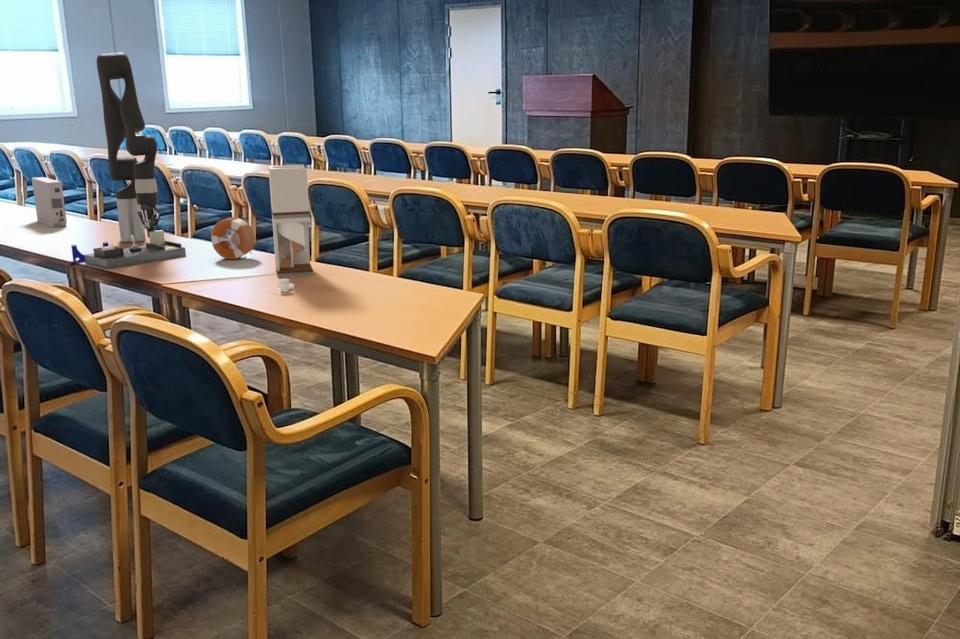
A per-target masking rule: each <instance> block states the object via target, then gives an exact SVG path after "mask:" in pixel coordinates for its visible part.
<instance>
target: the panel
mask: <svg viewBox="0 0 960 639" xmlns="http://www.w3.org/2000/svg"><path fill="white" fill-rule="evenodd" d="M114 246H115V245H114ZM102 247H103V246H102ZM102 247H97V248H96V247H95V248H93V252H92V253H87V254H83V255H84V256H85V264H87V265H88V264H89V265H91V266H95V267H98V268H99V267H100V268H103V269H106V270H108V269H109V270H110V269H115V268H119V267H127V266H132V265H139V264H145V263H151V262H156V261H160V260H161V261H163V260H168V258H169V259H173V258H178V257H185V256H187V254H186V247H185V246H182V243H180V242H179V243H178V242H174V241H169V240H165V244H161V245H156V244H151V243H150V242H145V244H144V245H139V247H135V248H132V247H131V246H130V247H126V248H124V247H120V246H115V249H111V250H102V249H101V248H102Z"/></svg>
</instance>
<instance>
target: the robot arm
mask: <svg viewBox="0 0 960 639" xmlns="http://www.w3.org/2000/svg"><path fill="white" fill-rule="evenodd" d="M96 69H97V75H98V79H99V85H100V91H101V99H102V109H103V110H102V112H103V120H104V128H105V129H104V130H105V134H106V136H105V137H106V141H107V142H106V143H107V158H108V159H107V161H108V162H107V163H108V173H109V177H110V179H111V180H112V181H116V182H117V181H119V182H120V181H122V182H123V181H124V182H125V181H130V183H129V184H128V185H126V186H125V187H123V188H120V189H118V190H116V191H115V198H116V206H117V216H118V217H117V219H118V229H119V235H120V241H121V242H123V243H132V241H131V238H130V236H131V235H133V236H134V239H135V242H136V243H138V242H143V241H146V239H147V238H149V239H150V237H149V232H152V231H156V230H155V228H156V227H158V226H159V222H160V220H161V216H162V214H161V213H158V211H157V207H156V205H157V204H159V195H158V194H159V193H158V184H157V180H156V173H155V163H156V156H157V152H158V142H157V140H156V138H155V137H154V136H152V135H150V134H147V135H136V133H137V134H138V133H139V132H141V131H144V130H145V128H146V123H145V121H144V118H143V115H142V111H141V108H140V104H139V100H138V94H137V90H136V89H137V88H136V84H135V80H134V74H133V71H132V70H133V69H132V66H131V62H130V59H129V57H128V55H127V54H126V53H125V52H110V53H100V54H98V55H97V57H96ZM111 80H123V82H124V91H123V95H122V98H120V97H119V96H118V95H117V93H116V92H115V90H114V89H113V87H112V85H111ZM124 141H125V148H126V151H127V152H128V154H130V156H118V154H119V150H120V147H121V146H122V144H123V142H124ZM138 156H139V157H140V156H144V158H143V159H142V160H141V161H138V159H137V158H136V157H138ZM145 228H146V230H145ZM146 233H147V238H146Z"/></svg>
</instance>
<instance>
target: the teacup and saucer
mask: <svg viewBox="0 0 960 639" xmlns="http://www.w3.org/2000/svg"><path fill="white" fill-rule="evenodd" d="M295 287H296V285H295V284H294V283H293V282H290V279H289V278H279V279H278V289H280V290H279V291H280V292H281V291H282V292H281V293H286V292H285V291H288V292H289V291H290V290H289V289H293V288H294V289H295Z"/></svg>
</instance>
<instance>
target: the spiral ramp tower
mask: <svg viewBox="0 0 960 639" xmlns="http://www.w3.org/2000/svg"><path fill="white" fill-rule="evenodd" d="M307 169H308V168H307V167H305V164H290V165H288V164H287V165H268V180H269V192H270V193H269V194H270V207H271V208H270V209H271V221H272V233H273V234H272V235H273V247H274V262H275V263H274V264H275V273H276V276H277V278H278V277H279V278H291V277H290V276H295V277H306V276H305V275H310V276H314V270H313V269H314V268H313V267H312V265H311V257H310V242H309V241H310V240H309V225H308V224H309V223H310V222H311V220H310V219H311V217H310V204H309V203H310V201H309V185H308V170H307ZM308 222H309V223H308Z"/></svg>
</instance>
